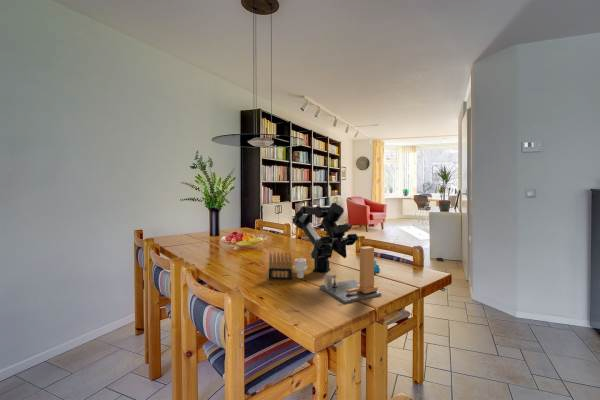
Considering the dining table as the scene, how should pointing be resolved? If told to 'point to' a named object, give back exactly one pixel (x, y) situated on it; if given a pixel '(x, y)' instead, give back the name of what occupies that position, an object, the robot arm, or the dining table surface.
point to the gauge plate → (345, 290)
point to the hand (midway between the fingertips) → (345, 257)
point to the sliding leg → (366, 271)
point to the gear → (376, 267)
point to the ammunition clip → (276, 270)
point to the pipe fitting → (300, 267)
